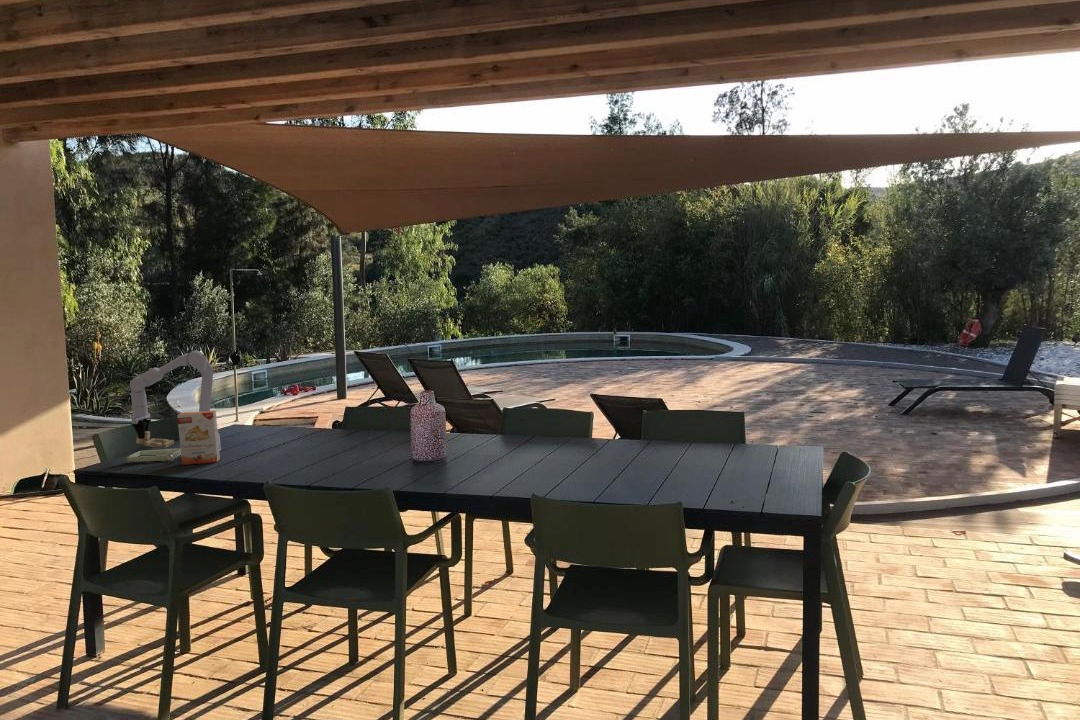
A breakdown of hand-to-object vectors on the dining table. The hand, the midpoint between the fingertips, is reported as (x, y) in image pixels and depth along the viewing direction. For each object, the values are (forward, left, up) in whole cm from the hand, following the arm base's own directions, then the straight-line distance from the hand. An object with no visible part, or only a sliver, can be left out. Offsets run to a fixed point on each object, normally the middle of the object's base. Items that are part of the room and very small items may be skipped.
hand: (143, 437), depth 370 cm
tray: (-4, -1, -9) cm, 10 cm away
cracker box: (-28, +14, -10) cm, 33 cm away
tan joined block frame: (-4, 0, -3) cm, 5 cm away
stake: (-15, +12, -9) cm, 21 cm away
